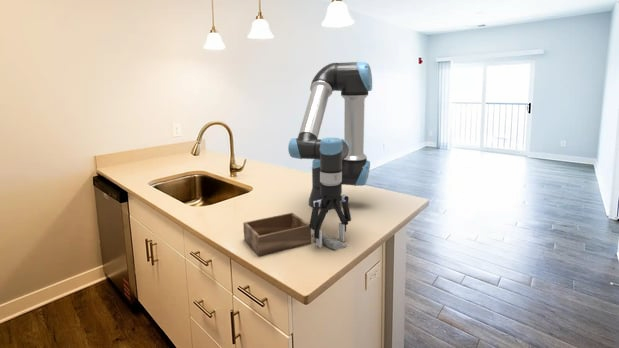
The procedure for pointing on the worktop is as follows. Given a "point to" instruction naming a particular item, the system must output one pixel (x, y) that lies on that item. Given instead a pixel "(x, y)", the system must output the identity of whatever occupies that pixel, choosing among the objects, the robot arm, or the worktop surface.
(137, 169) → the worktop surface
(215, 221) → the worktop surface
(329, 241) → the mineral specimen
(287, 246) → the walnut well
